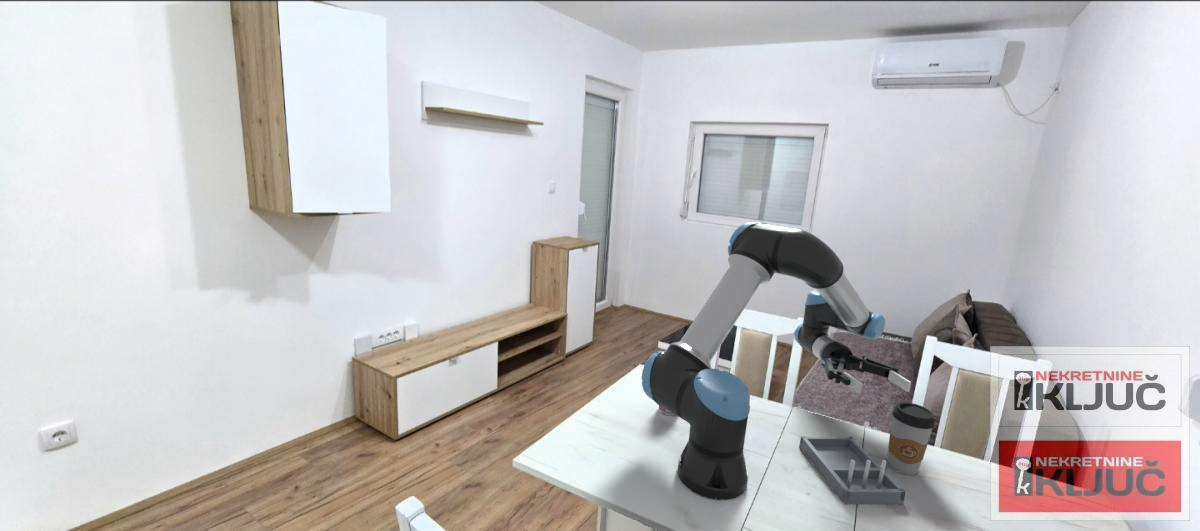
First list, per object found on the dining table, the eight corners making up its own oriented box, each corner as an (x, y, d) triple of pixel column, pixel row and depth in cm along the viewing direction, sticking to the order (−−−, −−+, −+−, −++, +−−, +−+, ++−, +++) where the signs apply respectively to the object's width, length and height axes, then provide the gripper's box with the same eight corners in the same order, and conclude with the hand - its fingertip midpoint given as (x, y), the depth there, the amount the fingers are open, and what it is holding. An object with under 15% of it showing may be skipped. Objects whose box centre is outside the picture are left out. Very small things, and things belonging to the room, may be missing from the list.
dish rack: (799, 446, 118) (803, 419, 117) (849, 447, 119) (854, 420, 118) (844, 504, 99) (850, 472, 97) (903, 504, 100) (910, 473, 98)
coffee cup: (882, 470, 111) (895, 412, 108) (881, 452, 118) (892, 397, 115) (925, 483, 107) (939, 423, 104) (920, 463, 114) (933, 407, 111)
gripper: (868, 363, 142) (925, 399, 122) (791, 365, 138) (837, 403, 118) (872, 340, 140) (931, 372, 120) (794, 341, 136) (842, 375, 116)
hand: (885, 388), depth 119 cm, fingers open, 13 cm apart
